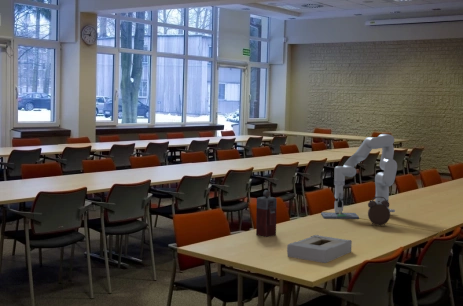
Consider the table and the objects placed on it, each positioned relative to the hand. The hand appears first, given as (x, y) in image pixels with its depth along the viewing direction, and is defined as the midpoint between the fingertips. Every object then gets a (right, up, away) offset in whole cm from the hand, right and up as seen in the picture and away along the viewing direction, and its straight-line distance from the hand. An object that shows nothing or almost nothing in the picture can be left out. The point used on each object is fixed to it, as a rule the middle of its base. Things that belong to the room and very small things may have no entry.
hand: (338, 206), depth 454 cm
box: (-31, -17, -117) cm, 122 cm away
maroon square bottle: (-57, -12, -70) cm, 91 cm away
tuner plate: (0, -7, -4) cm, 8 cm away
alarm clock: (+20, -10, -38) cm, 44 cm away
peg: (0, -5, -4) cm, 6 cm away
